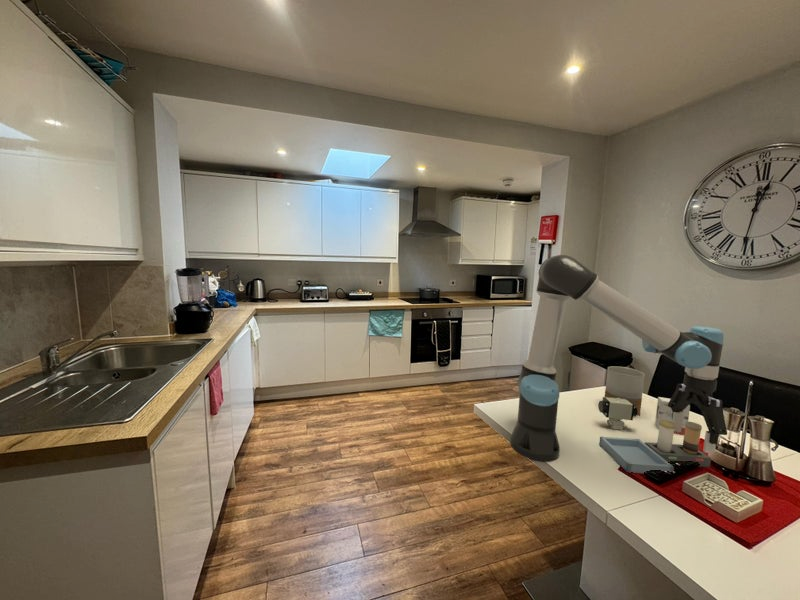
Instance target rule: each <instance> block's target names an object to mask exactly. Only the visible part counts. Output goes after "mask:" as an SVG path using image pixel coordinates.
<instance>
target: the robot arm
mask: <svg viewBox="0 0 800 600" xmlns="http://www.w3.org/2000/svg"><path fill="white" fill-rule="evenodd" d="M536 293H537V294H538V296H539V300H538V306H537V311H536V316H535V321H534V327H533V330H532V331H533V332H532V337H531V342H530V347H529V353H528V358H527V360H525V361H523V362H522V365H521V370H520V373H519V376H518V380H517V384H518V394H519V395H518V397H519V399H518V413H517V422H516V424H515V426H514V428H513V430H512V433H511V435H510V441H509V442H510V447H511V448H512V449H513V450H514V451H515V452H516V453H517V454H519V455H521V456H523V457H524V458H527V459H530V460H533V461H537V462H552V461H555V460H557V459H559V457H560V452H561V451H560V450H561V449H560V444H559V443H560V442H559V439H558V435H557V432H556V427H557V426H556V425H557V416H558V409H559V408H558V406H559V398H560V388H559V387H560V386H559V384H558V383H557V382H556V377H557V369H556V368H555V366H554V363H555V357H556V353H557V348H558V343H559V339H560V334H561V329H562V323H563V319H564V314H565V309H566V305H567V304H566V303H567V301H568V300H570V299H571V298H572V299H573V300H575V301H582V302H584V303H586V304H587V305H589V306H590V307H592V308H593V309H594V310H596V311H598V312H600V313H601V314H603V315H604V316H605V317H606V318H609V319H610V320H612V321H614V323H617V324H618V325H619V326H620V327H622V328H623V329H626V330H627V331H629V332H630V333H631V334H633V335H635V336H636V337H638V338H639V339H640V340H642V341H641V345H642V348H643V350H644V351H645V352H647V353H653V354H662V355H663V356H665V357H667V358H669V359H671V360H672V361H674V362H675V363H677V364H678V365H680V366H682V367H684V372H685V373H684V376H683V377H684V378H683V383H676V388H675V391H674V392H673V394H672V396H671V397H670V398H669V399H670V401H669V403H668V407H670V408H671V409H672V411H673V412H672V422H673V423H674V424H675V428H674V431H676V432H681V429H682V421H683V413H680V412H683V410H684V409H685V408H686V407H687V406H688V405H690V404H693V405H695V406H697V408H698V410H700V412H701V414H702V417H703V419H704V421H705V424H706V428H707V430H706V431H705V435H704V441H703V447H702V448H703V449H702V452H703V453H704V454H706V453H707V454H716V445H718V443H719V438H720V435H722V436H727V435H728V430H727V425H726V420H725V416H724V410H723V405H724V404H723V403H724V401H723V400H722V399H716V398H714V397H713V393H714V392H716V391H717V385H718V380H717V378H718V377H719V372H720V364H721V357H722V352H723V346H724V338H725V337H724V335H725V334H724V332H723V330H721V329H719V328H716V327H715V328H714V327H709V326H702V325H701V326H700V325H699V326H695V325H694V326H692V327H691V328H690V330H689V331H686V332H685V331H684V332H681V331H680V330H678V329H677V328H676V327H674V326H673V325H671V324H669V323H667V322H666V321H665V320H663V319H661V318H660V317H658V316H657V315H655V314H653V313H652V312H650V311H649V310H648V309H646V308H644V307H642V306H641V305H639V304H637V303H636V302H635V301H633V300H631V299H629V298H628V297H627V296H625V295H624V294H621V293H620V292H619V291H617V290H615V289H614V288H612V287H611V286H609V285H607V284H606V283H604V281H601V280H600V278H599V275H598V274H597V273H596V272H594V271H592V270H591V269H590V268H588V267H587V266H585V265H584V264H582V262H580V261H579V260H578V259H576V258H575V257H573V256H570V255H567V254H558V255H554V256H551V257H548V258H546V259H545V260H544V261H543V262H542V263H541V265H540V266H539V269H538V281H537V287H536ZM673 403H674V404H673ZM690 406H691V405H690Z"/></svg>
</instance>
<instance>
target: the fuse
mask: <svg viewBox="0 0 800 600" xmlns="http://www.w3.org/2000/svg"><path fill="white" fill-rule="evenodd" d="M659 424H660V426H659V430H658V435H657V440H656V441H657V442H656V443H657V449H658V450H660V451H661V452H664V453H671V448H672V444H673V441H674V440H673V439H674V434H675V433H674V428H675V424H674V423H673V422H670V421H667V420H660V423H659Z"/></svg>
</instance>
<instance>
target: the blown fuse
mask: <svg viewBox="0 0 800 600" xmlns="http://www.w3.org/2000/svg"><path fill="white" fill-rule="evenodd" d="M685 426H686V427H685V434H684V435H683V442H682V445H683V448H682V450H683V451H684V452H686V453H687V454H692V455H697V453H698V450H699V447H700V439H701V431H702V429H703V426H702V425H701V424H699V423H697V422H695V421H694V422H693V421H688V422H686V424H685Z"/></svg>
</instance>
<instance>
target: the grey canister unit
mask: <svg viewBox="0 0 800 600" xmlns="http://www.w3.org/2000/svg"><path fill="white" fill-rule="evenodd" d="M606 371H607V372H606V383H605V388H604V397H607V398H620V399H626V400H629V401H630V402H632V403H633V404H634V405H636V407H637V410H638V413H637V416H641V408H642V401H643V394H644V393H643V392H644V385H645V377H646V374H645V373H644V372H642V371H641V370H637V369H635V368H631V367H625V366H616V365H615V366H613V365H612V366H607V370H606Z"/></svg>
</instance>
